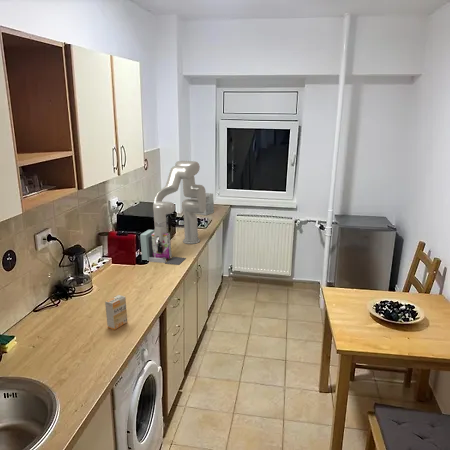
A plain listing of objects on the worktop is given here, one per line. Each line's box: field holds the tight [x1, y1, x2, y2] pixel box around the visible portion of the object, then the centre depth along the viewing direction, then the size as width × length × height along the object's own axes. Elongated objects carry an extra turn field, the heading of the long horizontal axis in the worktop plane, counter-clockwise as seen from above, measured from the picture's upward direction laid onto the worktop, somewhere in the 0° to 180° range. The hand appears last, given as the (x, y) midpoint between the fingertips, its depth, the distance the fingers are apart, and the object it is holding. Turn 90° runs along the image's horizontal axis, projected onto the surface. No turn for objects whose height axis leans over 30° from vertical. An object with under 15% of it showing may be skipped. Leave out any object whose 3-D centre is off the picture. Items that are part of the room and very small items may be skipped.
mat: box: [164, 256, 187, 266], centre depth 264 cm, size 12×10×1 cm
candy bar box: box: [151, 232, 173, 260], centre depth 265 cm, size 11×5×16 cm, turn 82°
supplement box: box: [104, 294, 128, 331], centre depth 185 cm, size 8×5×13 cm, turn 148°
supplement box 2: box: [190, 192, 215, 216], centre depth 382 cm, size 17×13×18 cm
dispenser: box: [139, 229, 167, 264], centre depth 266 cm, size 12×16×18 cm
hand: (162, 250), depth 265 cm, fingers closed on candy bar box, 5 cm apart
